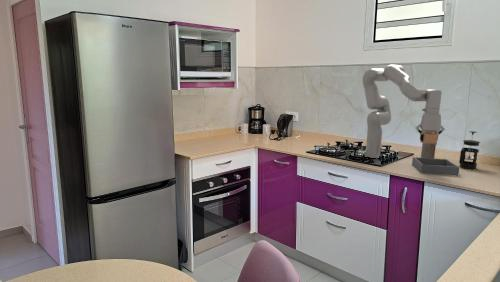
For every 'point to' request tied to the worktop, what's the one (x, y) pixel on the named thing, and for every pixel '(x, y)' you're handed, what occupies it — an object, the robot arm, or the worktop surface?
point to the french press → (462, 161)
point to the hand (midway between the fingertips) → (428, 141)
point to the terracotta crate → (430, 138)
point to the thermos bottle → (428, 149)
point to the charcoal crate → (435, 166)
